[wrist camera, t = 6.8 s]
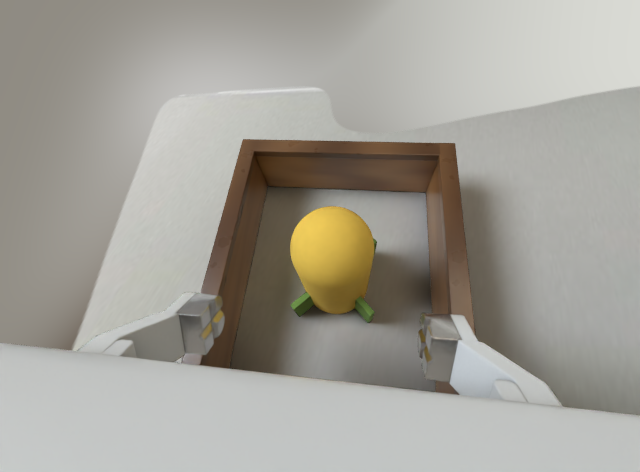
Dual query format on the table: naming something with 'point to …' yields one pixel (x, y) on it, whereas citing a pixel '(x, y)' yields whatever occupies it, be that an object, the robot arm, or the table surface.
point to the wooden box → (338, 173)
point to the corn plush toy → (333, 261)
